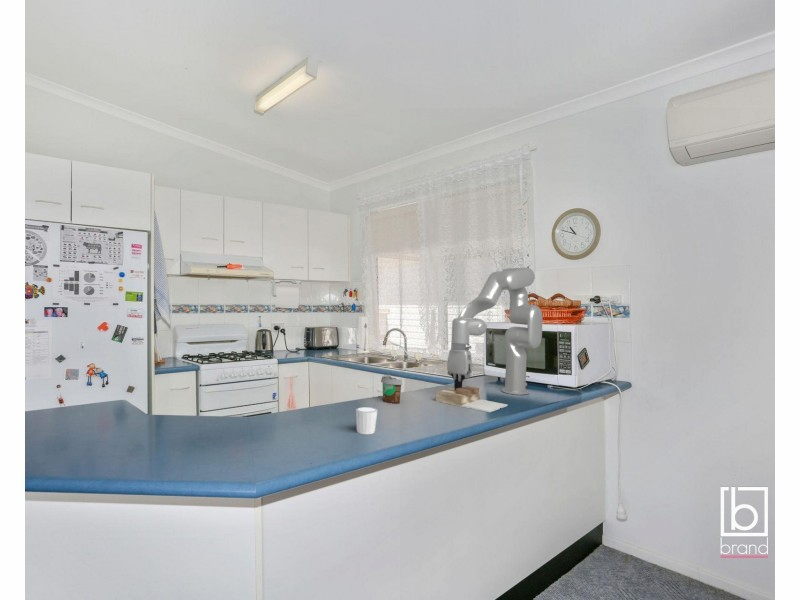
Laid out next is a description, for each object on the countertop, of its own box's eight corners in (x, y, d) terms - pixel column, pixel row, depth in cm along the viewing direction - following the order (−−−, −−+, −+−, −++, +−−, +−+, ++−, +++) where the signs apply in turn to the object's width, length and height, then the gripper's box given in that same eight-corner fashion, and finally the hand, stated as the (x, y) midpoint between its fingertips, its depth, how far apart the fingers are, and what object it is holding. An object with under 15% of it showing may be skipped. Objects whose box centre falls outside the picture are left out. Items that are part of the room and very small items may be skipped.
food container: (375, 398, 186) (376, 374, 186) (388, 397, 188) (389, 374, 188) (387, 405, 174) (388, 380, 174) (401, 404, 177) (402, 379, 177)
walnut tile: (466, 390, 191) (466, 386, 191) (478, 392, 187) (479, 388, 187) (455, 393, 184) (455, 388, 184) (468, 395, 180) (468, 391, 180)
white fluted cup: (379, 429, 141) (380, 408, 141) (372, 436, 134) (373, 413, 134) (359, 427, 143) (360, 405, 143) (351, 433, 136) (352, 410, 136)
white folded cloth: (480, 400, 190) (480, 399, 190) (507, 405, 183) (507, 404, 183) (461, 406, 178) (461, 405, 178) (489, 412, 170) (489, 411, 170)
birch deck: (455, 395, 198) (456, 386, 198) (479, 400, 191) (479, 391, 191) (435, 401, 186) (436, 391, 186) (460, 406, 178) (460, 396, 178)
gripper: (479, 348, 187) (477, 391, 187) (449, 345, 196) (448, 386, 196) (470, 349, 181) (468, 394, 181) (440, 345, 190) (438, 388, 190)
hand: (458, 389), depth 188 cm, fingers closed
